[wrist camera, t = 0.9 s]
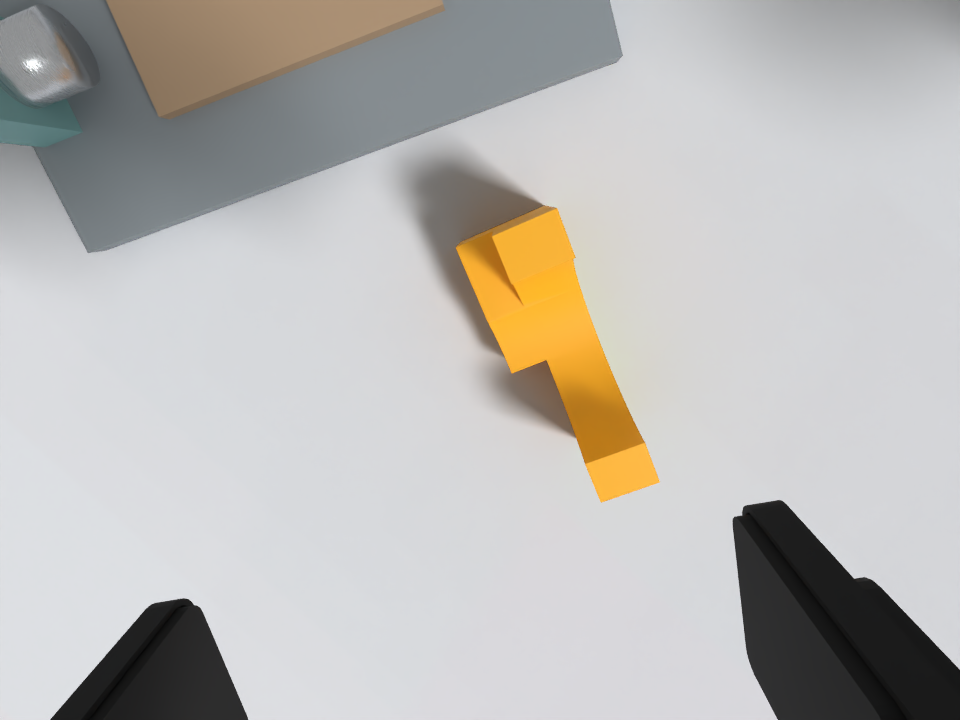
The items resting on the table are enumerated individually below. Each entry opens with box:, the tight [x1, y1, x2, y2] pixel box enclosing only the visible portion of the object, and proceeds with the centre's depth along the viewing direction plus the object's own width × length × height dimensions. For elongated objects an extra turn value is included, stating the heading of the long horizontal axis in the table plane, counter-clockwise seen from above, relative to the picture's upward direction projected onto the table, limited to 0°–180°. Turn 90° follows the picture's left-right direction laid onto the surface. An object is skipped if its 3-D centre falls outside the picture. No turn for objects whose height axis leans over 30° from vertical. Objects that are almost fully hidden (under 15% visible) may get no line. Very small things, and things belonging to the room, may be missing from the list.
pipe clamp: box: [456, 205, 660, 502], centre depth 25 cm, size 12×4×6 cm, turn 23°
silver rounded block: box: [0, 4, 100, 109], centre depth 22 cm, size 4×3×3 cm, turn 109°
